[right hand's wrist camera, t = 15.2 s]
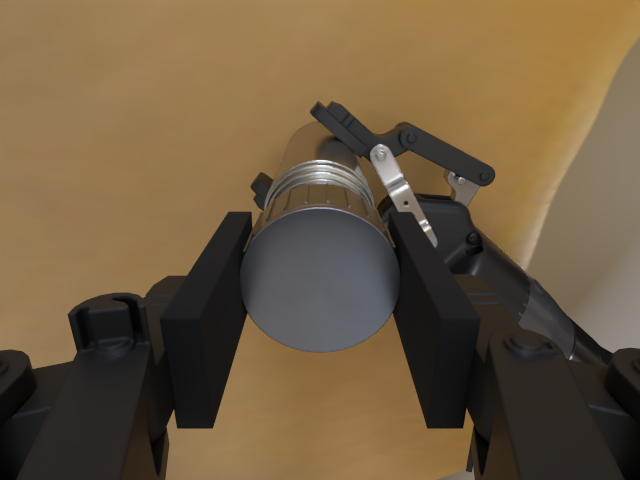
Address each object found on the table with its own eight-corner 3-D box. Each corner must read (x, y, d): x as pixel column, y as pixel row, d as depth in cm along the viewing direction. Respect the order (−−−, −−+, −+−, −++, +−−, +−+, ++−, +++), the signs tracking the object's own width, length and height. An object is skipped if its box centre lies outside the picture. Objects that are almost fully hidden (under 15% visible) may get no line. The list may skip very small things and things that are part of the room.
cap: (229, 205, 14) (211, 234, 11) (369, 163, 13) (380, 183, 11) (277, 323, 16) (269, 369, 13) (403, 290, 15) (418, 331, 13)
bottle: (361, 132, 30) (423, 225, 12) (341, 194, 32) (370, 358, 14) (296, 113, 29) (260, 179, 11) (280, 177, 31) (225, 323, 13)
